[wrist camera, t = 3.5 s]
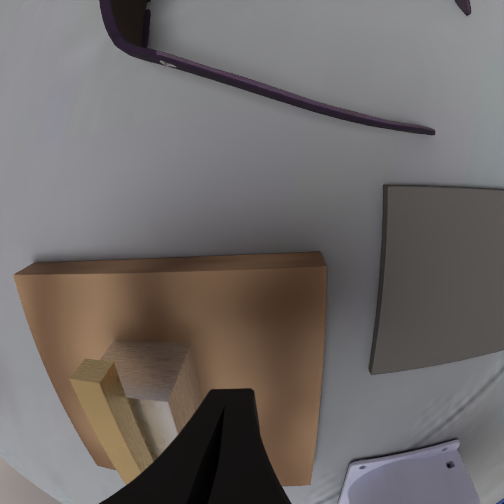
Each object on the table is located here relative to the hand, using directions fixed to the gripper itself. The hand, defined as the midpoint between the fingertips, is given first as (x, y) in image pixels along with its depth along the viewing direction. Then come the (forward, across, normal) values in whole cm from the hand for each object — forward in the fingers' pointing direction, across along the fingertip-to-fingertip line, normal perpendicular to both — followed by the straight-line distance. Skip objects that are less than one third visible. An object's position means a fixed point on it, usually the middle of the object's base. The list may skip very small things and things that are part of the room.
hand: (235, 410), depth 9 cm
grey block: (+5, +5, +3) cm, 7 cm away
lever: (0, +5, +5) cm, 7 cm away
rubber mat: (+7, -12, 0) cm, 13 cm away
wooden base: (+7, +5, +5) cm, 9 cm away
